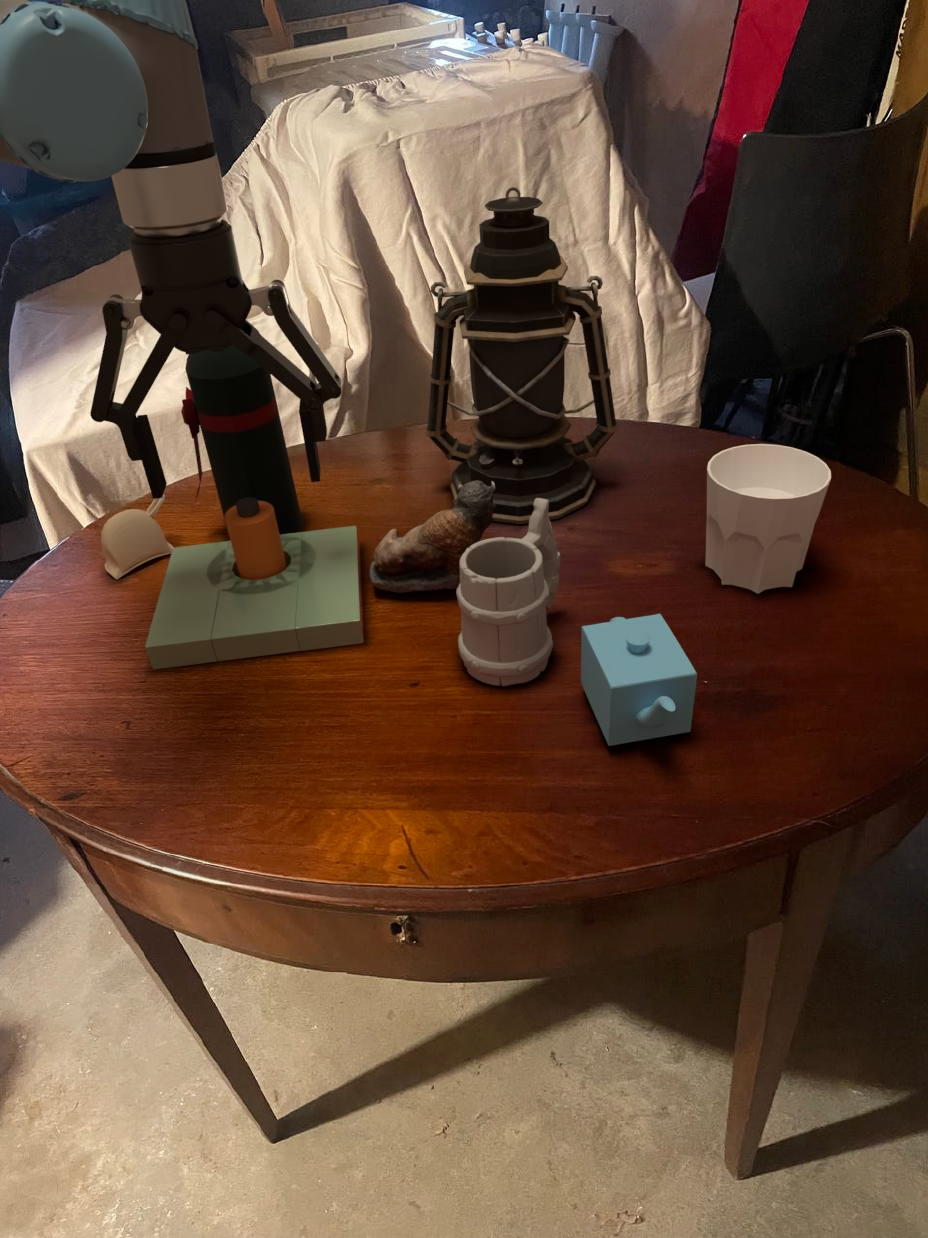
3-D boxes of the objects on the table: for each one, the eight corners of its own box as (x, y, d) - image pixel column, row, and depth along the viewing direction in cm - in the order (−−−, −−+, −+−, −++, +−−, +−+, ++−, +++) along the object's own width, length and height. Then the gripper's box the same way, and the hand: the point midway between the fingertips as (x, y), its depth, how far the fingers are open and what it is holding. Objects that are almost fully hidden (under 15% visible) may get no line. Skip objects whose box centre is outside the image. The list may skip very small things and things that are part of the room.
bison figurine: (369, 607, 79) (353, 510, 73) (375, 565, 85) (360, 472, 79) (501, 599, 79) (496, 501, 73) (498, 557, 85) (493, 463, 79)
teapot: (707, 774, 61) (719, 693, 56) (622, 789, 60) (627, 708, 56) (648, 667, 70) (654, 589, 66) (575, 679, 70) (576, 602, 65)
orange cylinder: (241, 601, 82) (219, 517, 76) (245, 575, 85) (224, 493, 80) (289, 595, 82) (269, 511, 77) (290, 570, 85) (272, 488, 80)
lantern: (422, 527, 90) (387, 214, 72) (439, 457, 103) (413, 176, 85) (619, 524, 88) (633, 201, 70) (612, 453, 101) (623, 164, 83)
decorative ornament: (97, 566, 89) (79, 520, 85) (171, 533, 93) (157, 488, 90) (114, 581, 86) (97, 534, 83) (190, 546, 90) (176, 501, 87)
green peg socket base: (152, 670, 74) (144, 647, 73) (179, 567, 87) (173, 546, 86) (364, 643, 75) (359, 620, 74) (359, 546, 88) (356, 524, 87)
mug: (440, 669, 72) (427, 544, 65) (518, 597, 79) (514, 478, 72) (519, 701, 68) (514, 573, 61) (593, 622, 75) (596, 499, 68)
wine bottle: (209, 517, 95) (126, 221, 77) (303, 505, 96) (242, 209, 78) (201, 555, 89) (110, 243, 71) (302, 542, 90) (236, 229, 72)
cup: (833, 586, 77) (855, 486, 71) (727, 607, 76) (741, 507, 70) (775, 531, 85) (791, 436, 79) (679, 549, 84) (688, 454, 78)
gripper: (347, 199, 68) (378, 450, 81) (19, 227, 67) (103, 478, 79) (348, 219, 62) (381, 487, 75) (-12, 251, 61) (84, 519, 73)
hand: (238, 483), depth 77 cm, fingers open, 13 cm apart
